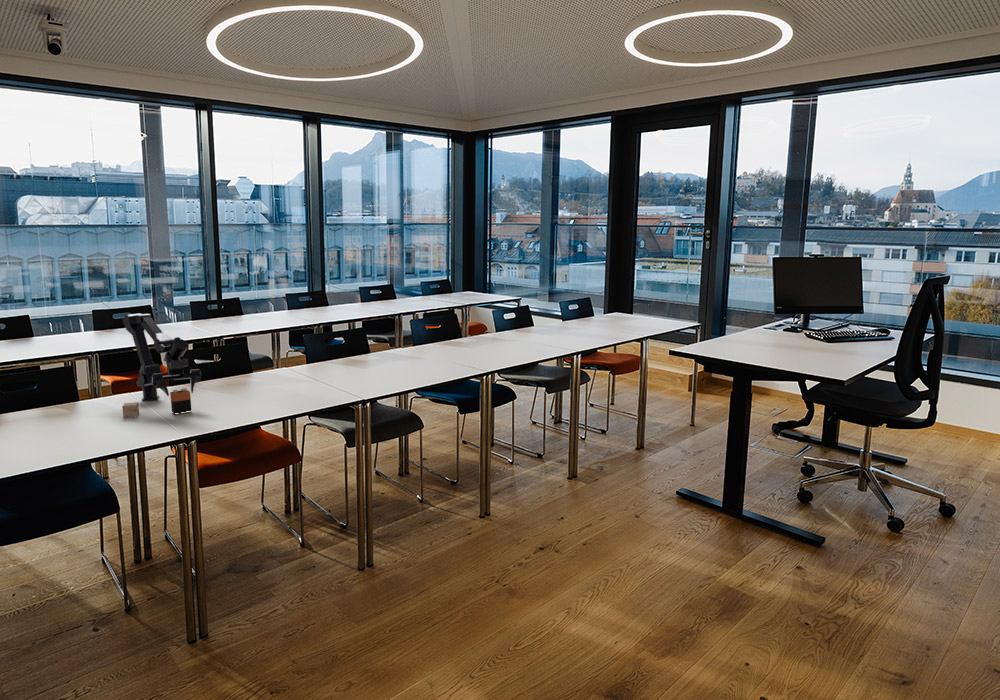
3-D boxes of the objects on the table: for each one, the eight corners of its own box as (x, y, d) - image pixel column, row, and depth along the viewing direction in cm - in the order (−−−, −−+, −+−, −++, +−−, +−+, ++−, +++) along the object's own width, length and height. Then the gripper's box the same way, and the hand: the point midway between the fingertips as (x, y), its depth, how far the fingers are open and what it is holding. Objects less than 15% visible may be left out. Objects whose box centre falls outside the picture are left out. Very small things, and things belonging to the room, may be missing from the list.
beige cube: (125, 414, 280) (124, 403, 279) (139, 413, 282) (138, 402, 281) (123, 417, 276) (122, 406, 275) (137, 416, 277) (136, 405, 276)
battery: (192, 412, 284) (190, 389, 282) (174, 415, 280) (172, 391, 278) (188, 410, 288) (186, 387, 286) (171, 413, 283) (169, 389, 281)
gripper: (150, 354, 279) (156, 386, 272) (198, 350, 289) (206, 380, 282) (149, 370, 287) (155, 401, 280) (196, 365, 297) (203, 395, 290)
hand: (180, 394), depth 282 cm, fingers open, 9 cm apart
